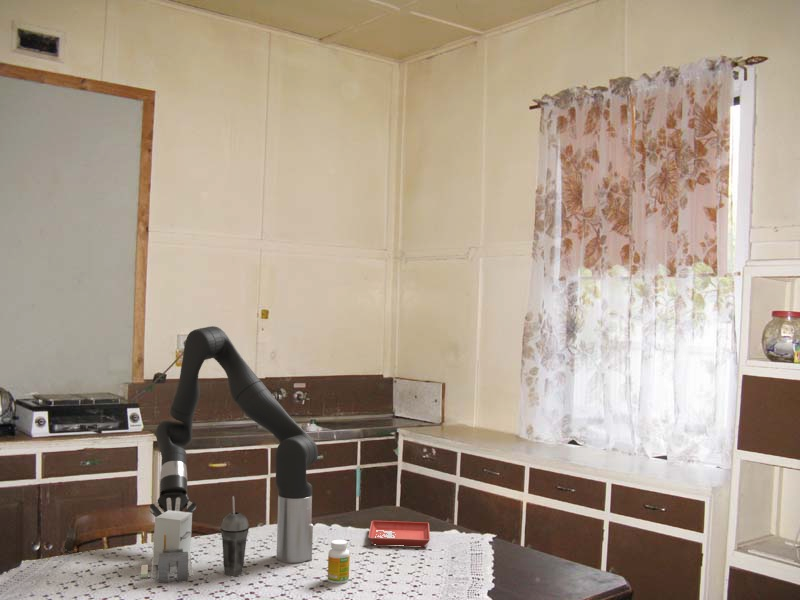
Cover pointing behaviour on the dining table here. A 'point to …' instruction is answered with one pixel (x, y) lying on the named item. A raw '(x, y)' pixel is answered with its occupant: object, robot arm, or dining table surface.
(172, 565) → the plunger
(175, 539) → the supplement box
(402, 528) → the plant saucer
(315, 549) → the dining table surface
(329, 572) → the supplement bottle
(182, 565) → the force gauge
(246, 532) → the beverage cup
